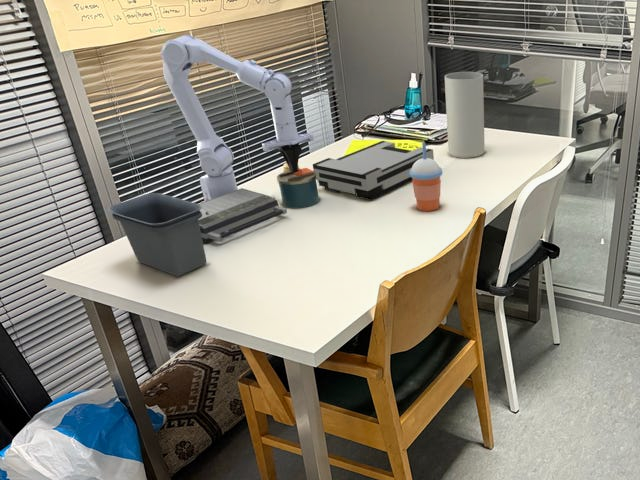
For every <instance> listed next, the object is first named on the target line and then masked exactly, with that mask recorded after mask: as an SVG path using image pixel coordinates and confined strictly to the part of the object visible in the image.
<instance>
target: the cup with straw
mask: <svg viewBox="0 0 640 480" xmlns="http://www.w3.org/2000/svg"><path fill="white" fill-rule="evenodd" d="M421 148H423V158H421V159H419V160H417V161H416V162H415V163H414V164H413V166H412V168H411V169H410V171H409V174H410V176H411V177H412V179H413V181H411V183H412V189H413V194H414V198H415V202H416V207H417V209H418V210H419V211H424V212H432V211H435V210H438V209H439V208H440V197H441V188H442V187H441V186H442V185H441V183H442V180H441V177H442V175H443V168H441V166H440V165H439V163H438V162H437V161H436V160H435V159H434V160H433V159H430V158H426V148H427V145H426V142H421Z"/></svg>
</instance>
